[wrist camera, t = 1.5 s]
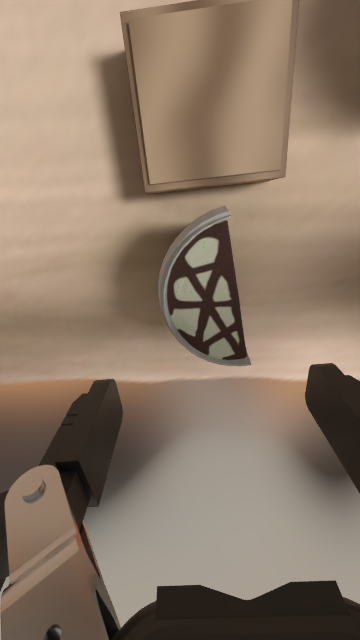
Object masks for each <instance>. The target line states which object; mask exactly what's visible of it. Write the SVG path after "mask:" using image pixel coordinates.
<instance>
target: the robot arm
mask: <svg viewBox="0 0 360 640" xmlns="http://www.w3.org/2000/svg"><path fill="white" fill-rule="evenodd" d="M305 399H306V404H307V407H308V409H309V411H310V412H311V414H312V416H313V417H314V419H315V421H316V422H317V424H318V426H319V427H320V429H321V430H322V432H323V434H324V435H325V437H326V439H327V440H328V442H329V444H330V445H331V447H332V448H333V450H334V452H335V454H336V455H337V457H338V458H339V460H340V462H341V463H342V465H343V467H344V468H345V470H346V472H347V473H348V475H349V476H350V478H351V480H352V481H353V483H354V485H355V486H356V488H357V490H358V491H359V493H360V381H358V380H357V379H355V378H353V377H352V376H350V375H344V374H343V373H342V372H341V371H340V370H339V368H338V367H337V366H336V365H335V364H333V363H327V364H314V365H311V366H310V368H309V374H308V380H307V387H306V392H305ZM122 417H123V410H122V404H121V400H120V397H119V393H118V389H117V385H116V382H115V380H114V379H106V380H95V381H94V382H93V384H92V386H91V389H90V391H89V392H88V393H87V394H82V395H81V396H80V397H79V398H78V399H77V400H76V401H74V402H73V403H72V405H71V407H70V409H69V411H68V412H67V414H66V417H65V418H64V420H63V422H62V424H61V426H60V427H59V429H58V431H57V433H56V435H55V436H54V438H53V440H52V442H51V444H50V446H49V448H48V449H47V451H46V453H45V455H44V457H43V459H42V461H41V462H40V464H39V466H38V467H35V468H33V469H31V470H29V471H28V472H26V473H25V474H23V475H22V476H21V477H20V478H19V479H18V480H17V481H16V482H15V483H14V484H13V486H12V487H11V489H10V490H9V491H6V492H3V493H1V494H0V591H1V588H2V586H3V584H4V581H5V579H6V577H8V576H10V582H9V586H8V587H7V588H6V589H4V591H3V593H2V596H1V604H0V615H1V616H0V617H1V640H360V604H358V603H356V602H354V601H352V600H349V599H347V598H344V597H342V595H341V592H340V590H339V588H338V585H337V583H336V581H309V582H290V583H288V584H285V585H283V586H281V587H279V588H277V589H274V590H273V591H270V592H268V593H265V594H263V595H261V596H259V597H256V598H254V599H252V600H242V599H240V598H237V597H234V596H231V595H228V594H225V593H222V592H219V591H216V590H213V589H210V588H207V587H204V586H201V585H185V586H158V587H157V600H156V601H155V602H153V603H151V604H149V605H147V606H146V607H144V608H142V609H141V610H140V611H138V612H137V613H136V614H135V615H134V616H132V617H131V618H130V619H129V620H128V621H127V622H126V623H125V624H124V626H123V627H122V628H121V627H120V624H119V621H118V618H117V615H116V612H115V609H114V607H113V604H112V601H111V599H110V596H109V594H108V591H107V589H106V586H105V584H104V581H103V578H102V575H101V572H100V569H99V566H98V563H97V560H96V557H95V554H94V551H93V548H92V545H91V542H90V539H89V536H88V533H87V530H86V527H85V524H84V522H83V519H84V516H85V513H86V509H87V507H98V506H99V503H100V500H101V495H102V492H103V489H104V485H105V481H106V478H107V474H108V470H109V467H110V463H111V459H112V456H113V452H114V448H115V445H116V441H117V437H118V433H119V430H120V426H121V422H122Z"/></svg>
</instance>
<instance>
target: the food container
mask: <svg viewBox="0 0 360 640" xmlns="http://www.w3.org/2000/svg"><path fill="white" fill-rule="evenodd" d="M228 218H231V216H230V215H229V211H228V209H227V208H226V207H225V206H223V207H220V208H217V209H215V210H212V211H210V212H208V213H206V214H204V215H202V216H201V217H199V218H197V219H196V220H195V221H193V222H192V223H191V224H189V225H188V226H187V227H186V228H185V229H184V230H183V231H182V232H181V233H180V234H179V235H178V236H177V237H176V239H175V240H174V242H173V243H172V245H171V246H170V247H169V249H168V251H167V253H166V255H165V257H164V259H163V262H162V266H161V269H160V272H159V280H158V298H159V302H160V307H161V310H162V313H163V316H164V318H165V321H166V324H167V326H168V327H169V329H170V331H171V332H172V334H173V335H174V336H175V338H176V339H177V340H178V341H179V342H180V343H181V344H182V345H183V346H184V347H185V348H187V349H188V350H189V351H190V352H192V353H193V354H195V355H196V356H198V357H200V358H202V359H204V360H207V361H209V362H212V363H216V364H219V365H227V366H246V365H251V362H250V359H249V357H248V354H247V352H246V347H245V341H244V334H243V327H242V320H241V311H240V303H239V296H238V290H237V283H236V277H235V270H234V263H233V256H232V249H231V242H230V235H229V229H228V222H227V220H226V219H228Z"/></svg>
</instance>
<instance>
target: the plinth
mask: <svg viewBox="0 0 360 640" xmlns="http://www.w3.org/2000/svg"><path fill="white" fill-rule="evenodd" d="M298 7H299V0H196V1H190V2H183V3H177V4H170V5H164V6H157V7H150V8H144V9H137V10H131V11H124V12H120V17H121V25H122V32H123V39H124V46H125V53H126V60H127V67H128V74H129V81H130V88H131V95H132V102H133V109H134V116H135V123H136V130H137V138H138V145H139V152H140V159H141V166H142V173H143V180H144V187H145V192H146V193H150V194H154V193H163V192H172V191H181V190H190V189H199V188H208V187H217V186H226V185H235V184H244V183H253V182H262V181H270V180H274V179H278V178H282V177H285V174H286V161H287V148H288V136H289V123H290V110H291V97H292V84H293V71H294V58H295V46H296V33H297V20H298Z"/></svg>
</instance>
